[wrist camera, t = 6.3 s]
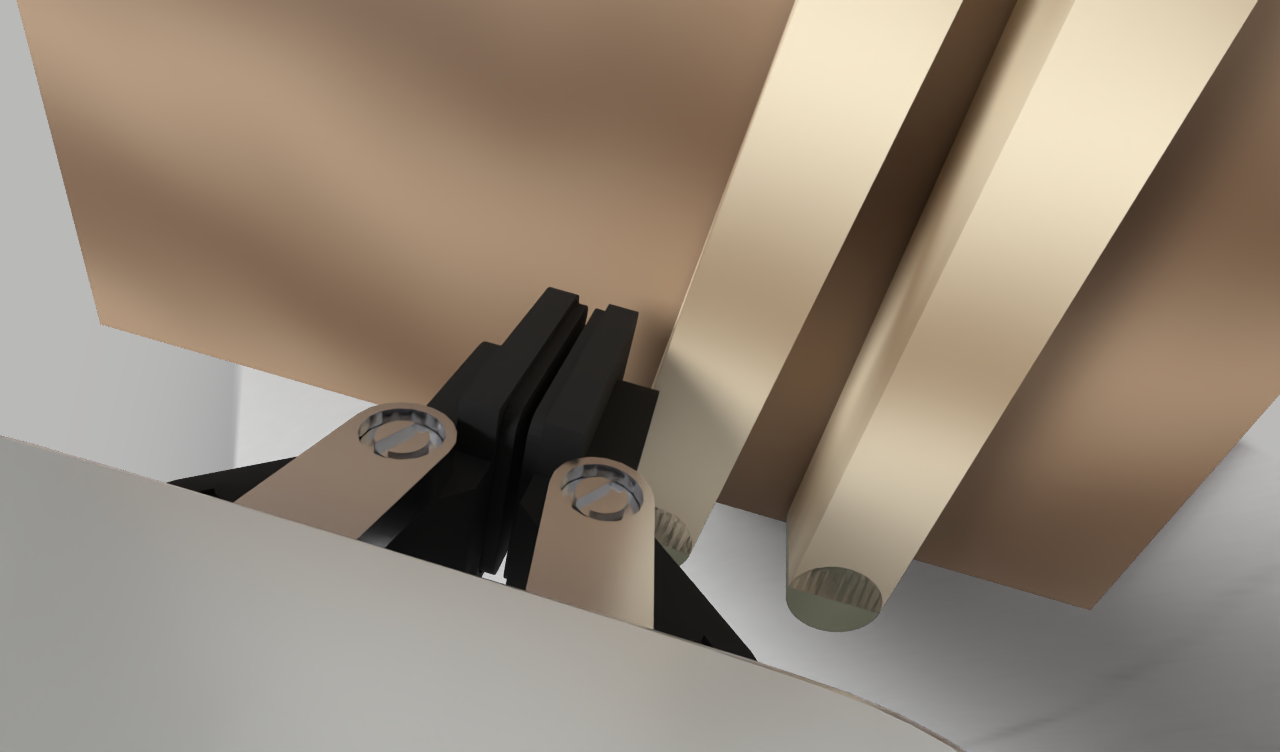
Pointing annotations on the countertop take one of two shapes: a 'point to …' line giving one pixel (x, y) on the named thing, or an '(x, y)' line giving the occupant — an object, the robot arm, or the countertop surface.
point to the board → (641, 230)
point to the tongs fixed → (991, 276)
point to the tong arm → (779, 236)
